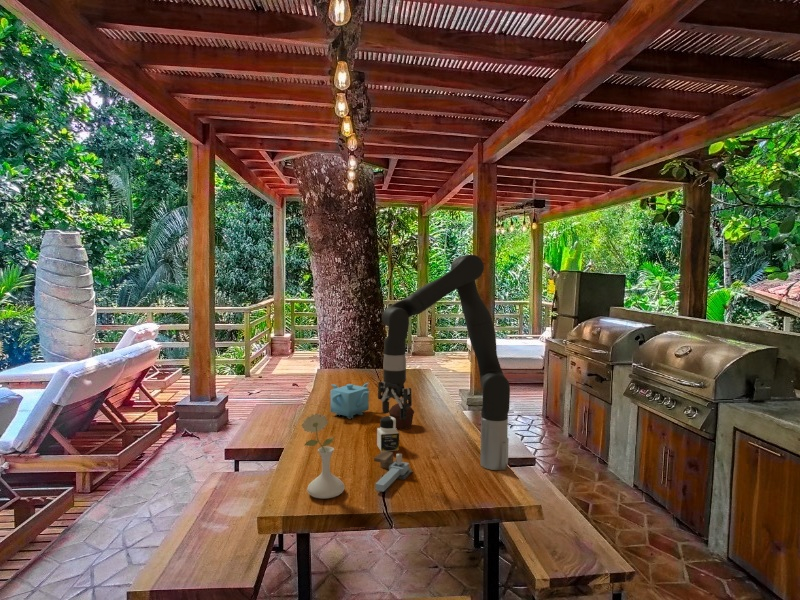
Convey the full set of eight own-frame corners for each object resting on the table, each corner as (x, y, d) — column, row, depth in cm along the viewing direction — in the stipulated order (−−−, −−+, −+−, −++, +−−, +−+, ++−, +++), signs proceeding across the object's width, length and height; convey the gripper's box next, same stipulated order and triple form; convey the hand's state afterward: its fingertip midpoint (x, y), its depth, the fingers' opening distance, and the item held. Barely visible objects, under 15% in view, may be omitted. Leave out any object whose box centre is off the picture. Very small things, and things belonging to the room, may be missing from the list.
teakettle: (330, 421, 212) (330, 389, 211) (330, 409, 231) (330, 380, 230) (371, 419, 215) (371, 388, 214) (368, 408, 233) (368, 379, 233)
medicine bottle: (381, 452, 175) (381, 421, 175) (376, 445, 182) (377, 415, 182) (399, 450, 177) (399, 419, 177) (394, 444, 184) (394, 414, 184)
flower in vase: (346, 484, 148) (346, 407, 147) (343, 502, 137) (342, 419, 135) (305, 485, 148) (304, 408, 146) (298, 502, 136) (298, 419, 135)
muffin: (384, 424, 208) (384, 402, 208) (406, 420, 214) (406, 399, 213) (396, 432, 198) (396, 409, 197) (418, 428, 203) (419, 406, 202)
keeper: (393, 467, 162) (393, 452, 162) (384, 475, 155) (384, 460, 155) (382, 465, 164) (382, 450, 163) (374, 473, 157) (374, 458, 157)
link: (394, 466, 160) (395, 460, 160) (409, 469, 158) (409, 463, 158) (371, 489, 143) (371, 482, 143) (387, 492, 141) (387, 485, 141)
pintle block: (412, 471, 158) (412, 452, 158) (404, 480, 152) (404, 459, 151) (393, 468, 161) (393, 449, 161) (385, 476, 155) (385, 456, 154)
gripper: (417, 369, 150) (417, 418, 151) (389, 363, 161) (388, 409, 161) (400, 372, 145) (400, 423, 146) (372, 365, 156) (371, 413, 156)
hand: (394, 415), depth 154 cm, fingers open, 8 cm apart
